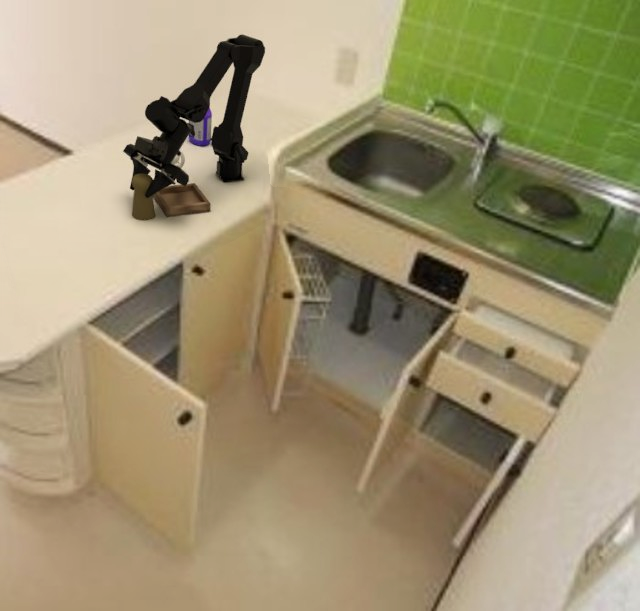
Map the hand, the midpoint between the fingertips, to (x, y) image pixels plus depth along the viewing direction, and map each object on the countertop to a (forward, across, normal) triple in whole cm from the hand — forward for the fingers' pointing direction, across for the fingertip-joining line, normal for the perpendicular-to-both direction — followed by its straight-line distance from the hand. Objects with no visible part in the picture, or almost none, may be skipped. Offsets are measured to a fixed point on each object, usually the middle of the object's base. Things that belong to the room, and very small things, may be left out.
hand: (138, 193), depth 161 cm
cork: (+4, 0, +6) cm, 7 cm away
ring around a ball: (-14, -15, +23) cm, 31 cm away
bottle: (-27, -24, +37) cm, 52 cm away
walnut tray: (-4, +2, +14) cm, 14 cm away
